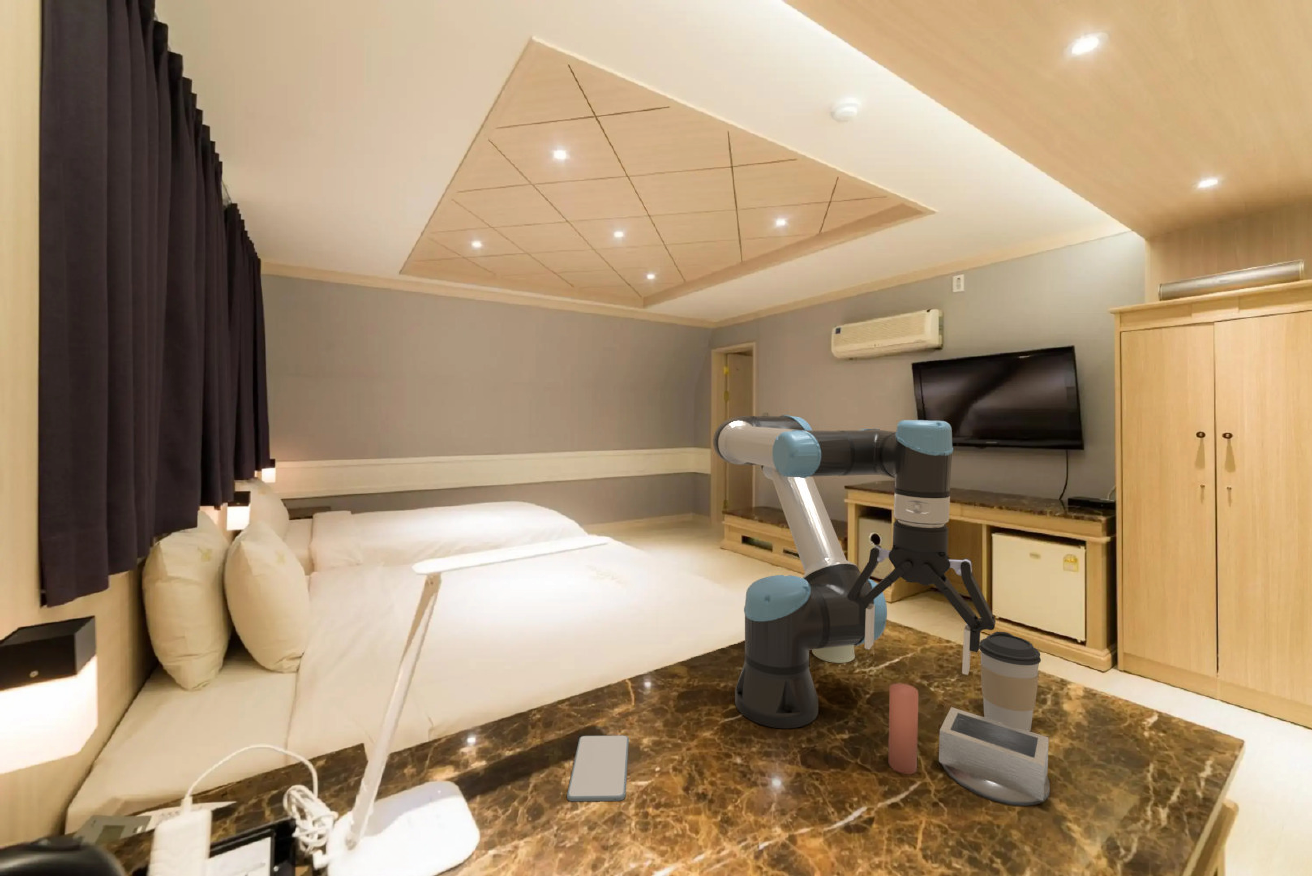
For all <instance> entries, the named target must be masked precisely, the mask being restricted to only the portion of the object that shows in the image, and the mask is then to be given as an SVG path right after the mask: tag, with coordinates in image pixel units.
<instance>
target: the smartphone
mask: <svg viewBox="0 0 1312 876" xmlns="http://www.w3.org/2000/svg"><path fill="white" fill-rule="evenodd" d="M629 740H630V739H629V737H628V735H625V734H624V735H621V734H620V735H615V734H614V735H582V736H580V737H579V738H578V742H577V743H578V744H577V748H576V752H575V756H574V760H573V761H574V762H573V766H572V769H571V775H570V780H569V782H568V783H569V784H568V788H567V789H568V790H567V794H566V799H567V800H568V802H621V801H623V800H624V799H625V797H626V791H627V778H628V776H627V775H628V755H629Z"/></svg>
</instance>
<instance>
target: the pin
mask: <svg viewBox="0 0 1312 876" xmlns="http://www.w3.org/2000/svg"><path fill="white" fill-rule="evenodd" d="M888 709H889V711H888V714H889V715H888V754H887V755H888V756H887V757H888V761H887V762H888V765H889V767H891V769H892V770H894V771H895V772H897V773H900V774H904V775H913V774H915V773H916V772H917V771H918V768H917V767H918V734H919V733H918V732H919V731H918V730H919V729H918V728H919V726H918V723H919V691H918V689H917V688H915V687H914V686H913V685H910V684H906V683H899V682H898V683H897V682H896V683H891V685H889V708H888Z"/></svg>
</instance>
